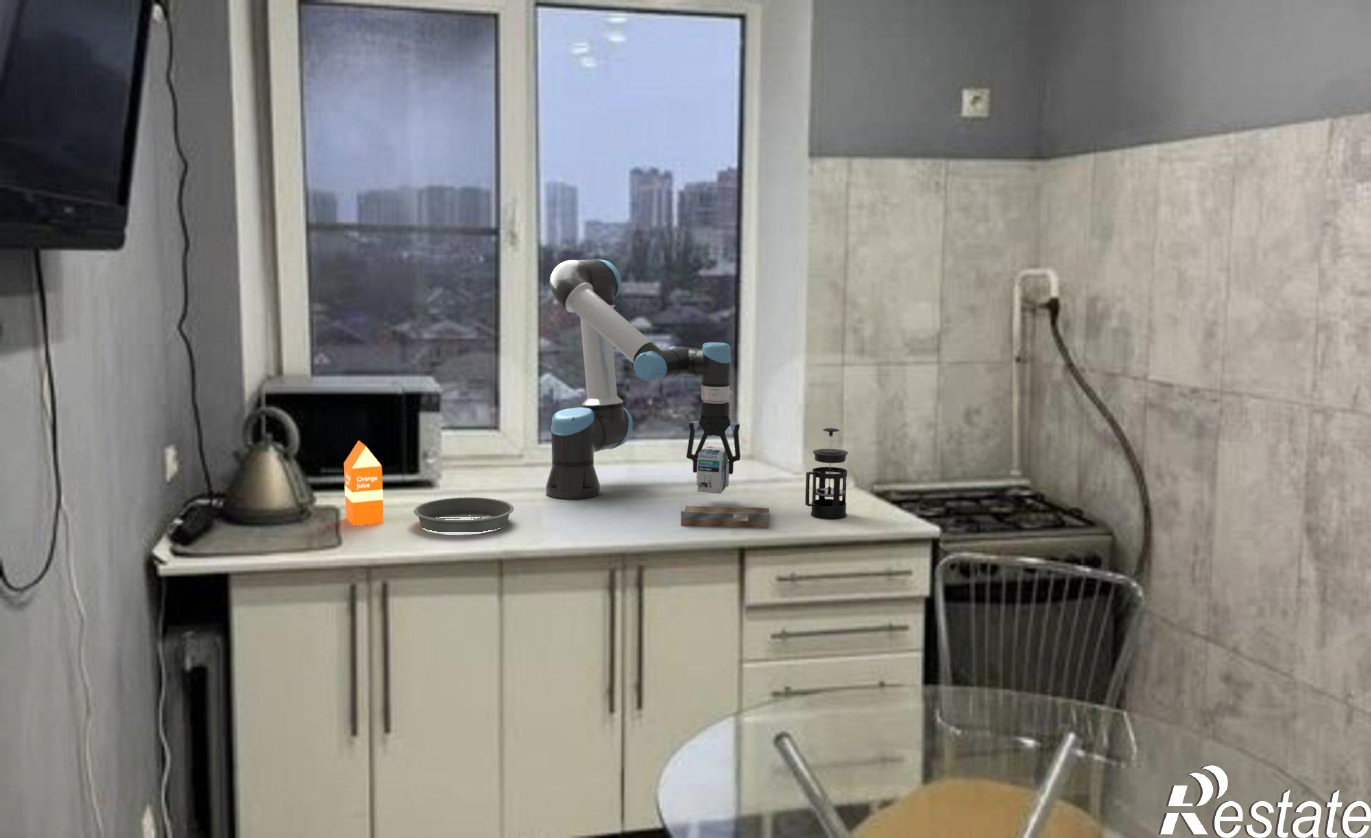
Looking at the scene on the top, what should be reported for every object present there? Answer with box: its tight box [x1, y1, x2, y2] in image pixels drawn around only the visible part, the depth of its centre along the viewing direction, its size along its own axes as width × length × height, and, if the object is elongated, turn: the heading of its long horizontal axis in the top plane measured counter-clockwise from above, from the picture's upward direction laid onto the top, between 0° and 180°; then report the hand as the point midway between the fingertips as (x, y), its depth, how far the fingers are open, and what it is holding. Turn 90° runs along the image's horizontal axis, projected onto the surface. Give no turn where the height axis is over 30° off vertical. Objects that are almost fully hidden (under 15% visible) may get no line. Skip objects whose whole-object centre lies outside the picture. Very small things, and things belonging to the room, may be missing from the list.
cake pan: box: [413, 496, 515, 532], centre depth 297 cm, size 25×25×4 cm
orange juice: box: [343, 440, 385, 526], centre depth 298 cm, size 8×9×20 cm
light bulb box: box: [696, 445, 729, 495], centre depth 318 cm, size 11×7×11 cm, turn 169°
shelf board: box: [680, 505, 770, 529], centre depth 304 cm, size 22×15×4 cm
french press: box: [804, 427, 849, 521], centre depth 308 cm, size 12×9×23 cm
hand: (712, 484), depth 319 cm, fingers closed on light bulb box, 7 cm apart
